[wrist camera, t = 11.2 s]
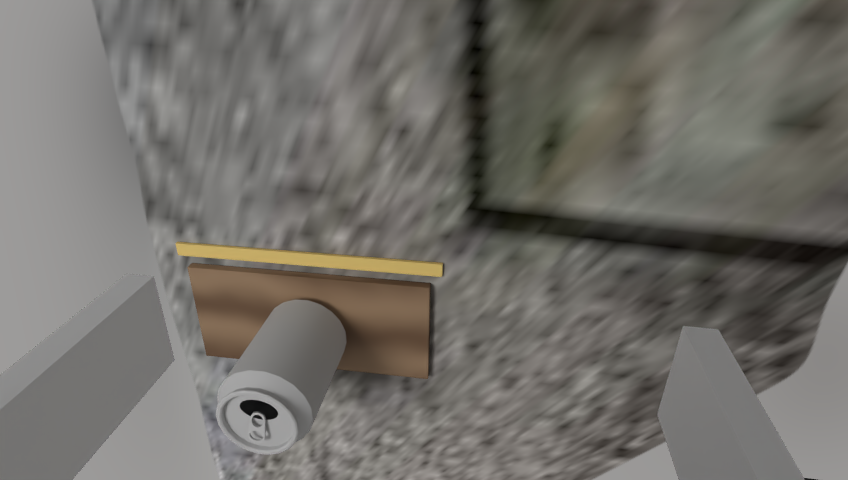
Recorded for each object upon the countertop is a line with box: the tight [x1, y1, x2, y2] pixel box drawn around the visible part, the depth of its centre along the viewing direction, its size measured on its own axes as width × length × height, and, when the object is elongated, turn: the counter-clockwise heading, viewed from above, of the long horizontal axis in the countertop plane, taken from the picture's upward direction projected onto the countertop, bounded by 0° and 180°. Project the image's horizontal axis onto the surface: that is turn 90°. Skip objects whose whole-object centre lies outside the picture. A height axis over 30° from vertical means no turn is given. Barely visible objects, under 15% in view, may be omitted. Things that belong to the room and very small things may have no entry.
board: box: [188, 263, 431, 379], centre depth 49 cm, size 10×22×1 cm, turn 89°
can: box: [216, 300, 347, 455], centre depth 44 cm, size 8×8×12 cm
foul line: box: [176, 242, 443, 277], centre depth 47 cm, size 1×24×1 cm, turn 89°
